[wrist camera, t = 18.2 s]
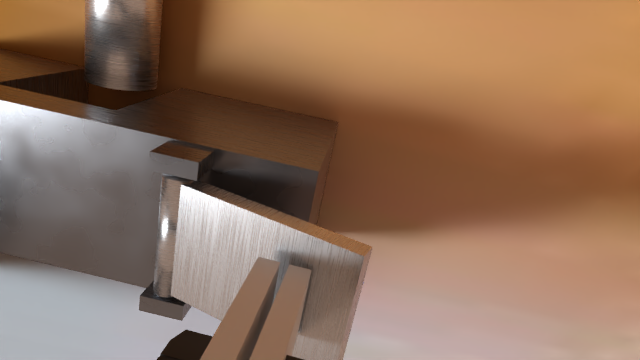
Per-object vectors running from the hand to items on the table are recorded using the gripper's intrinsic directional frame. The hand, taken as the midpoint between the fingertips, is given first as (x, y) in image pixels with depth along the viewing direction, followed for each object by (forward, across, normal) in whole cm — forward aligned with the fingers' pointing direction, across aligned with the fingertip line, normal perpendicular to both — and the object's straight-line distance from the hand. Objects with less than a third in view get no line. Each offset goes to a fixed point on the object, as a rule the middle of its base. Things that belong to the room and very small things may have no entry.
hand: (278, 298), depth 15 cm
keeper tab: (+2, -5, 0) cm, 5 cm away
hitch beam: (+12, -11, 0) cm, 16 cm away
